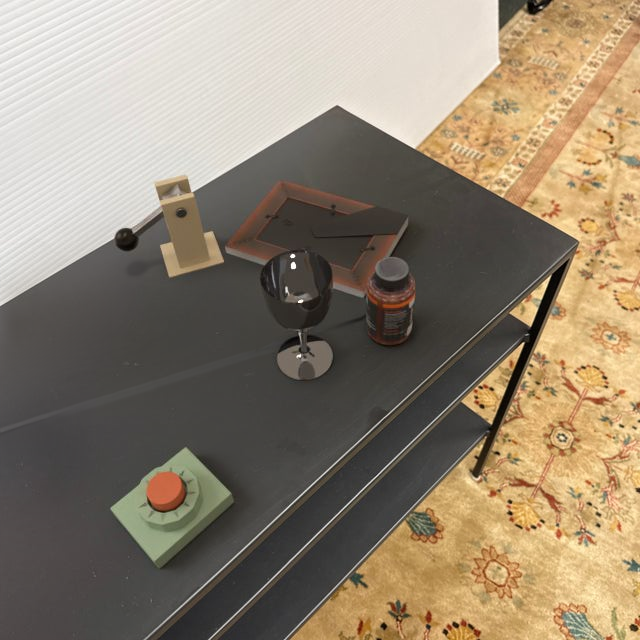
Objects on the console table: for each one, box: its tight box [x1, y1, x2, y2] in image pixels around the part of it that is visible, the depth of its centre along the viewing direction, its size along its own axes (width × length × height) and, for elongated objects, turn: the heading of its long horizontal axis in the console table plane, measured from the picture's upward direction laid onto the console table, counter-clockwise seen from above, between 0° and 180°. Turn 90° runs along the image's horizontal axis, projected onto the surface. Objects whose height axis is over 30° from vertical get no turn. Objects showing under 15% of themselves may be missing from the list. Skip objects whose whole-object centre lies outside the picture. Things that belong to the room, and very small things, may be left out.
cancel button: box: [146, 472, 185, 511], centre depth 66 cm, size 4×4×2 cm
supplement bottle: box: [365, 256, 417, 346], centre depth 80 cm, size 6×6×11 cm
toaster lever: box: [113, 184, 187, 252], centre depth 87 cm, size 12×3×3 cm, turn 110°
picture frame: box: [224, 179, 409, 299], centre depth 94 cm, size 16×2×22 cm
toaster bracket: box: [153, 174, 225, 279], centre depth 89 cm, size 8×7×13 cm
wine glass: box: [259, 250, 334, 381], centre depth 76 cm, size 8×8×15 cm
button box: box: [110, 446, 235, 570], centre depth 68 cm, size 10×8×4 cm
